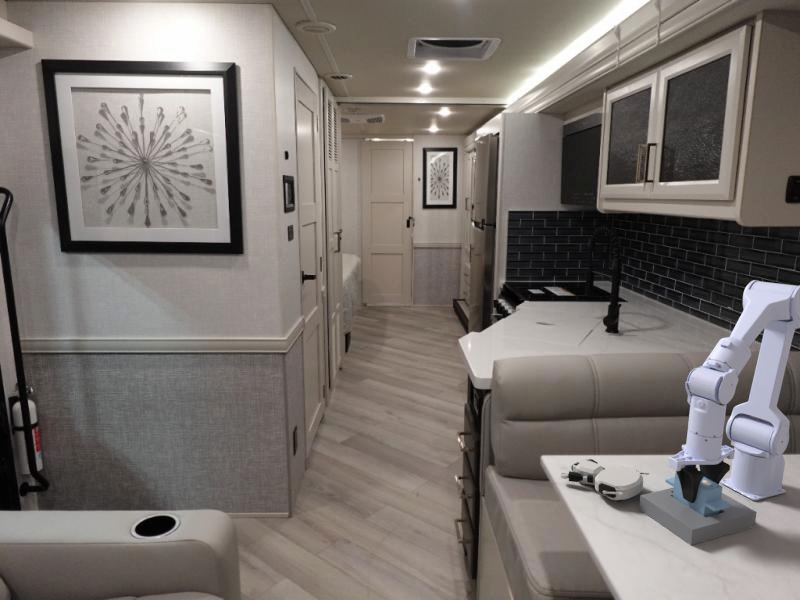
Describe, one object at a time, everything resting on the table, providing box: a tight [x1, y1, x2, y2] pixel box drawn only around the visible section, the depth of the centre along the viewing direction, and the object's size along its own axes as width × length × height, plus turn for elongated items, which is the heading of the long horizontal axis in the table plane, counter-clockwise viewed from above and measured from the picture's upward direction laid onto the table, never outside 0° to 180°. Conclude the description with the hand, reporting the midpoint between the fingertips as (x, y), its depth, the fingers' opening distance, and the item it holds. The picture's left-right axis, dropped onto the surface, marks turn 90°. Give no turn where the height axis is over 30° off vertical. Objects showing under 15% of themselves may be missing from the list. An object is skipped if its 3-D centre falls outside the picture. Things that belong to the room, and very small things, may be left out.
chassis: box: [638, 487, 758, 546], centre depth 103 cm, size 16×12×3 cm
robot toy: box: [560, 458, 650, 501], centre depth 114 cm, size 12×4×15 cm
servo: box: [665, 472, 731, 517], centre depth 103 cm, size 4×11×6 cm, turn 20°
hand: (697, 498), depth 103 cm, fingers closed on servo, 4 cm apart
